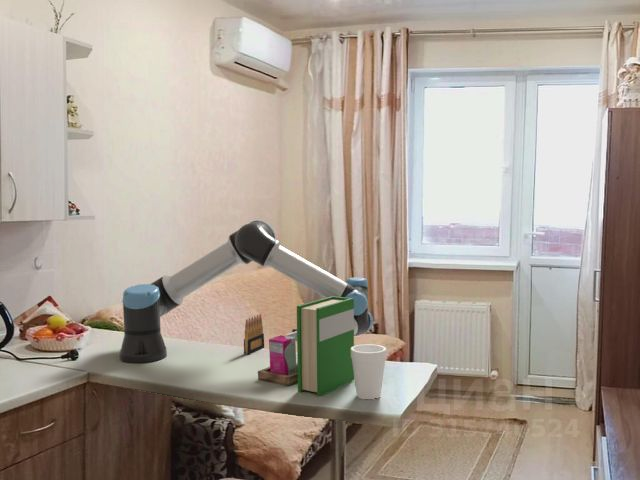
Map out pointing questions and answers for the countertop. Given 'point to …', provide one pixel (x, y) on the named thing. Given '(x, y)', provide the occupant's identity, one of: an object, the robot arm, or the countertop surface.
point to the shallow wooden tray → (278, 377)
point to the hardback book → (325, 344)
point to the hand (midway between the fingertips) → (303, 342)
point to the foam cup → (368, 369)
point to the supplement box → (282, 355)
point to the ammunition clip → (253, 335)
